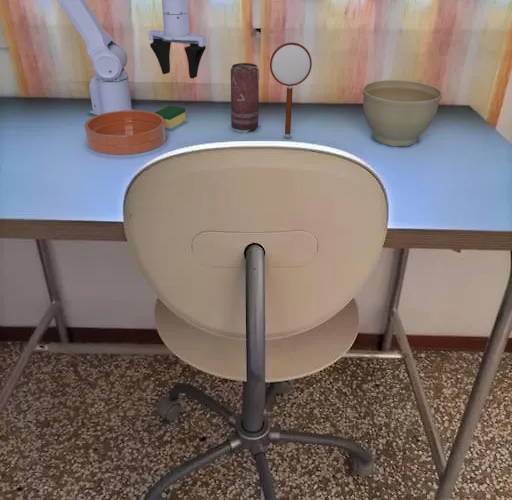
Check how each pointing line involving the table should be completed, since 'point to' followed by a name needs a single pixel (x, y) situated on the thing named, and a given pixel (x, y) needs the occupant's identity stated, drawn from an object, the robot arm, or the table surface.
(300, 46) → the magnifying glass
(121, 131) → the bowl
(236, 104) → the can
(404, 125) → the planter bowl
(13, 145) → the table surface
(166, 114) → the sponge
